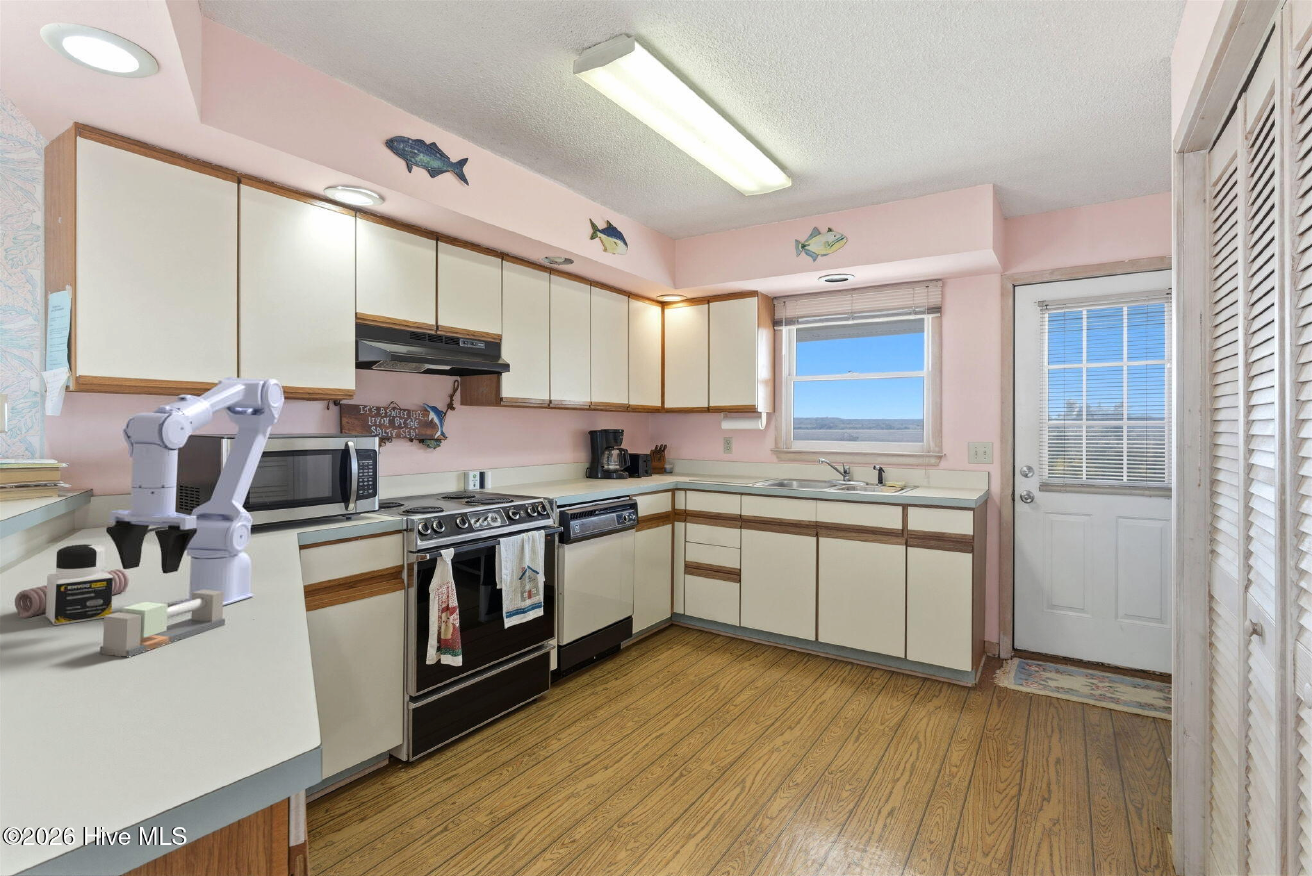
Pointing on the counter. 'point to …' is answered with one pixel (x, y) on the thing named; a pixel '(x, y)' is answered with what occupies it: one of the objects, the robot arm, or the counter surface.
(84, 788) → the counter surface
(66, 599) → the medicine bottle
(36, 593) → the coil
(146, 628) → the sleeve
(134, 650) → the rod with sliding collar
